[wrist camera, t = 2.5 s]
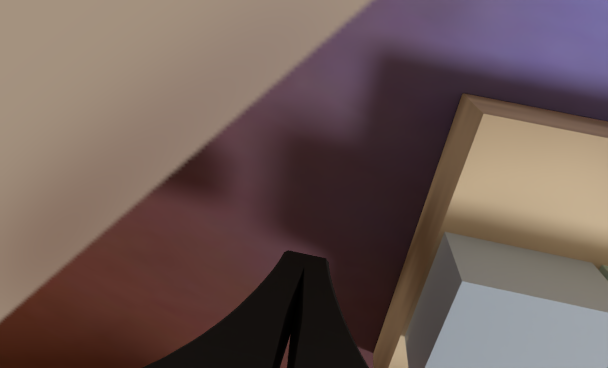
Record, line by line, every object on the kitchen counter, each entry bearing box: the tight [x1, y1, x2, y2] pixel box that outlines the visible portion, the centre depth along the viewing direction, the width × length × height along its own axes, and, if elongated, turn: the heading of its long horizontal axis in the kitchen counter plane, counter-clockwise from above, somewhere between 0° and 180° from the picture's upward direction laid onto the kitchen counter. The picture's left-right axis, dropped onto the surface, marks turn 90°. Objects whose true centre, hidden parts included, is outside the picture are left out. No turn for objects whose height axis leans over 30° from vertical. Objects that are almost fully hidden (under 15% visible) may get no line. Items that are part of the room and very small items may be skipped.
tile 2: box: [405, 232, 608, 368], centre depth 12 cm, size 4×4×2 cm
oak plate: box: [373, 93, 608, 368], centre depth 14 cm, size 12×10×2 cm
